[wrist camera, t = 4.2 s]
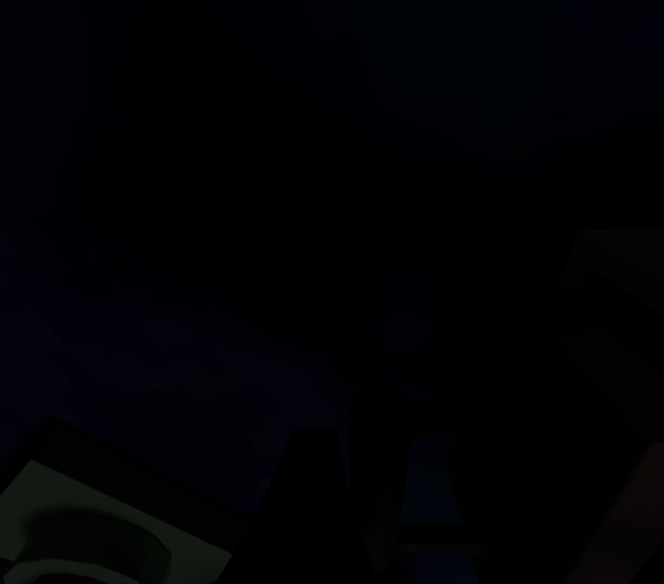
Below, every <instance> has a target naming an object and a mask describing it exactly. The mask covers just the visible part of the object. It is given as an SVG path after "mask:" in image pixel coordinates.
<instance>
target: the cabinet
mask: <svg viewBox="0 0 664 584" xmlns="http://www.w3.org/2000/svg"><path fill="white" fill-rule="evenodd" d="M559 286H560V287H561V288H563V289H564V290H565V291H566V292H567V293H568V294H570V295H571V296H572V293H573V290H574V287H575V286H618V287H620V288H621V289H623V290H624V291H626V292H627V293H628V294H630V295H631V296H633V297H634V298H636V299H637V300H639V301H640V302H642V303H643V304H645V305H646V306H647V307H649V308H650V309H652V310H653V311H655V312H656V313H658V314H659V315H661V316H662V317H663V318H664V229H602V230H578V231H577V233H576V236H575V239H574V242H573V245H572V248H571V251H570V254H569V257H568V260H567V263H566V266H565V270H564V273H563V276H562V279H561V282H560V285H559Z"/></svg>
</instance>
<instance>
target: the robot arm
mask: <svg viewBox="0 0 664 584" xmlns="http://www.w3.org/2000/svg"><path fill="white" fill-rule="evenodd" d="M215 584H379V582H378V579H377V577H376V574H375V571H374V569H373V566H372V563H371V561H370V558H369V555H368V552H367V549H366V546H365V543H364V541H363V538H362V535H361V532H360V529H359V525H358V522H357V519H356V516H355V512H354V509H353V505H352V502H351V498H350V495H349V491H348V487H347V483H346V479H345V475H344V470H343V465H342V460H341V454H340V446H339V432H337V431H336V430H309V429H294V430H293V431H291V432H290V435H289V438H288V442H287V444H286V447H285V450H284V452H283V455H282V458H281V460H280V462H279V465H278V467H277V469H276V472H275V474H274V476H273V478H272V481H271V483H270V485H269V487H268V489H267V491H266V493H265V495H264V497H263V499H262V501H261V503H260V505H259V507H258V509H257V511H256V513H255V515H254V517H253V519H252V521H251V522H250V524H249V526H248V528H247V530H246V532H245V533H244V535H243V537H242V539H241V541H240V543H239V544H238V546H237V548H236V550H235V551H234V553H233V555H232V557H231V558H230V560H229V562H228V563H227V565H226V567H225V568H224V570H223V572H222V573H221V575H220V577H219V578H218V580H217V581H216V583H215Z"/></svg>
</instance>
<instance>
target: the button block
mask: <svg viewBox="0 0 664 584" xmlns="http://www.w3.org/2000/svg"><path fill="white" fill-rule="evenodd" d="M248 526H249V523H247V522H245V521H243V520H241V519H239V518H237V517H235V516H233V515H231V514H229V513H228V512H226V511H224V510H222V509H220V508H218V507H216V506H214V505H212V504H210V503H208V502H206V501H204V500H202V499H200V498H198V497H197V496H195V495H193V494H191V493H189V492H187V491H185V490H183V489H181V488H179V487H177V486H175V485H173V484H171V483H169V482H168V481H166V480H164V479H162V478H160V477H158V476H156V475H154V474H152V473H150V472H148V471H146V470H144V469H142V468H140V467H138V466H137V465H135V464H133V463H131V462H129V461H127V460H125V459H123V458H121V457H119V456H117V455H115V454H113V453H111V452H109V451H107V450H106V449H104V448H102V447H100V446H98V445H96V444H94V443H92V442H90V441H88V440H86V439H84V438H82V437H80V436H78V435H76V434H75V433H73V432H71V431H69V430H67V429H65V428H63V427H61V426H59V427H58V428H57V429H56V430H55V431H54V433H53V434H52V435H51V436H50V437H49V438H48V440H47V441H46V442H45V443H44V444H43V445H42V447H41V448H40V449H39V450H38V451H37V452H36V454H35V455H34V456H33V457H32V458H31V459H30V460H29V462H28V463H27V464H26V465H25V466H24V468H23V469H22V470H21V471H20V472H19V473H18V475H17V476H16V477H15V478H14V479H13V480H12V482H11V483H10V484H9V485H8V486H7V487H6V489H5V490H4V491H3V492H2V493H1V494H0V557H3V558H6V559H8V560H11V561H13V563H12V564H11V566H10V567H9V568H8V570H7V571H6V573H5V574H4V576H3V579H4V582H5V584H42V582H43V581H44V579H45V578H46V576H47V575H51V574H59V573H66V574H73V575H80V576H87V577H92V578H95V579H97V580H100V581H102V582H105V583H108V584H211V583H213V582H214V581H216V580H218V578H219V577H220V575H221V573H222V572H223V570H224V568H225V567H226V565H227V563H228V562H229V560H230V558H231V557H232V555H233V553H234V551H235V550H236V548H237V546H238V544H239V543H240V541H241V539H242V537H243V535H244V533H245V532H246V530H247V528H248Z"/></svg>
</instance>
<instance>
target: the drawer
mask: <svg viewBox="0 0 664 584" xmlns="http://www.w3.org/2000/svg"><path fill="white" fill-rule="evenodd" d="M411 432H413V435H414V437H426V438H451V443H450V448H449V452H448V457H447V462H446V468H447V472H448V475H449V479H450V483H451V486H452V490H453V493H454V497H455V500H456V504H457V508H458V511H459V515H460V518H461V522H462V524H431V523H400V517H401V509H402V502H403V494H404V486H405V478H406V471H407V463H408V455H409V447H410V440H411ZM350 498H351V502H352V505H353V509H354V512H355V516H356V519H357V522H358V525H359V529H360V532H361V535H362V538H363V541H364V543H365V546H366V549H367V552H368V555H369V558H370V561H371V563H372V566H373V569H374V571H375V572H381V571H384V570H385V569H387V568H388V567H389V566H390V565H391V564H392V562H393V560H394V558H395V555H396V548H397V551H398V553H400V554H440V555H471V558H472V561H473V565H474V568H475V572H476V575H477V579H478V583H479V584H664V318H663V317H662V316H661V315H659V314H658V313H656V312H655V311H653V310H652V309H650V308H649V307H647V306H646V305H645V304H643V303H642V302H640V301H639V300H637V299H636V298H634V297H633V296H631V295H630V294H628V293H627V292H626V291H624V290H623V289H621V288H620V287H618V286H575V287H574V290H573V293H572V296H571V295H570V294H568V293H567V292H566V291H565V290H564V289H563V288H561V287H560V286H559V285H558V284H557V283H556V282H555V281H553V280H552V279H551V278H550V277H549V276H548V275H547V274H545V273H544V272H543V271H542V270H541V269H540V268H538V267H537V266H536V265H535V264H534V263H533V262H532V261H530V260H489V263H488V267H487V272H486V277H485V282H484V286H483V291H482V296H481V301H480V305H479V310H478V315H477V320H476V324H475V329H474V334H473V338H472V343H471V348H470V353H469V357H468V362H467V367H466V372H465V376H464V381H463V386H462V391H461V395H460V400H459V401H412V400H411V398H410V396H409V395H408V394H407V393H406V392H405V391H404V390H403V389H401V388H400V387H398V386H396V385H393V384H390V383H385V382H373V383H369V384H366V385H364V386H362V387H360V388H359V389H358V390H357V391H356V392H355V393H354V395H353V397H352V399H351V415H350Z"/></svg>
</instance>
